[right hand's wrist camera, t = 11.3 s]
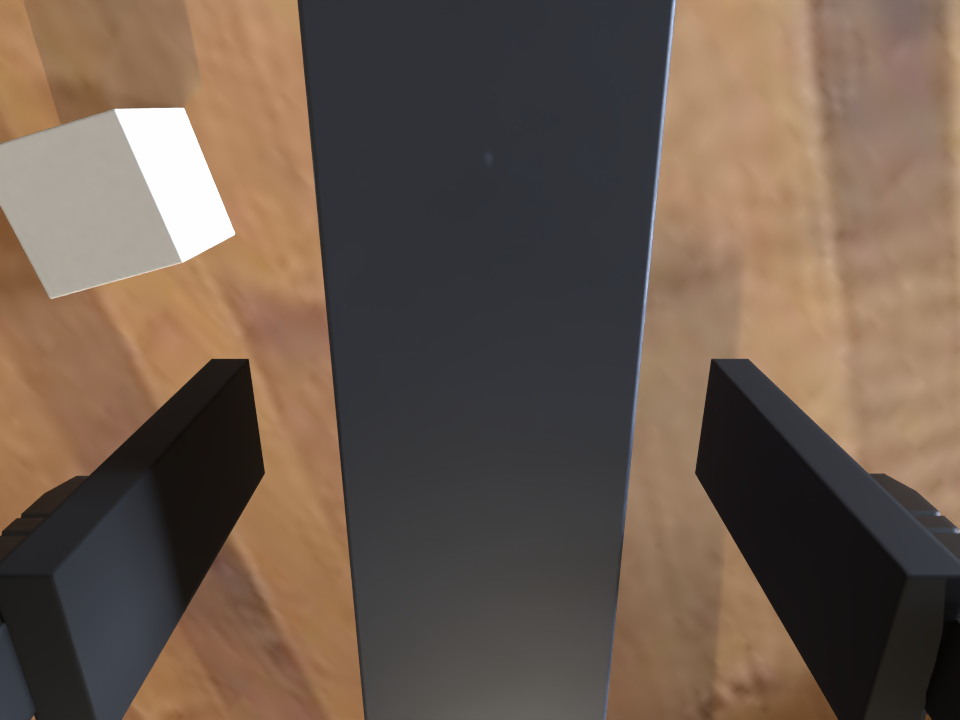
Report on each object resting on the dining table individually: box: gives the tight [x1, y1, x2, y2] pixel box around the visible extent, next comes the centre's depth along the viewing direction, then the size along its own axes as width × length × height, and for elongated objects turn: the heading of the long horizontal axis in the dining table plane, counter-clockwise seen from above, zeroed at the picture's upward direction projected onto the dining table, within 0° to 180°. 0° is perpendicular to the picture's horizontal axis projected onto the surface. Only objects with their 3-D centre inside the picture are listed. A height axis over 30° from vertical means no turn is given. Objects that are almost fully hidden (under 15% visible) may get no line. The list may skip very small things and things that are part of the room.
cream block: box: [0, 108, 235, 299], centre depth 23 cm, size 5×5×5 cm
